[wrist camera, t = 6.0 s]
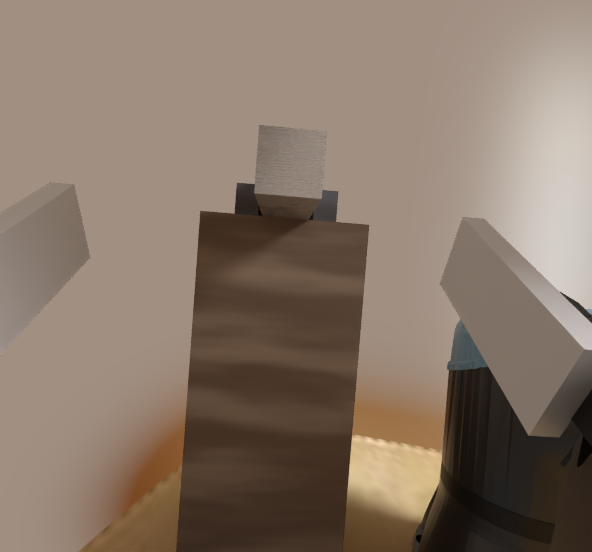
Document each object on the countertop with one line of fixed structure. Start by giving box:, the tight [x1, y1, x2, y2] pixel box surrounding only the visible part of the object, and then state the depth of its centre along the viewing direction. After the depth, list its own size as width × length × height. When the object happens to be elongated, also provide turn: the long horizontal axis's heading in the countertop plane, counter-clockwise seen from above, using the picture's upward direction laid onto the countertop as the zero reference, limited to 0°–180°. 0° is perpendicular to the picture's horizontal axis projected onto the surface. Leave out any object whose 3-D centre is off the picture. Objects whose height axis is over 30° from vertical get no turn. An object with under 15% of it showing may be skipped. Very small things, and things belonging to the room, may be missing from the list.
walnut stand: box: [176, 183, 369, 552], centre depth 34 cm, size 16×11×30 cm
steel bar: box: [254, 125, 327, 220], centre depth 27 cm, size 20×3×3 cm, turn 2°
